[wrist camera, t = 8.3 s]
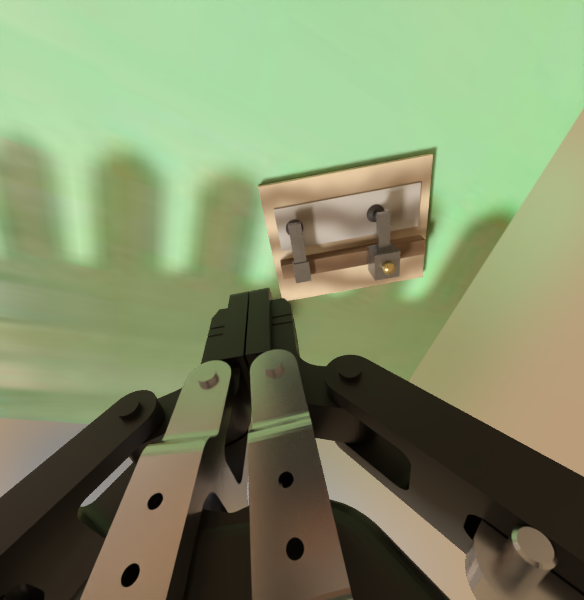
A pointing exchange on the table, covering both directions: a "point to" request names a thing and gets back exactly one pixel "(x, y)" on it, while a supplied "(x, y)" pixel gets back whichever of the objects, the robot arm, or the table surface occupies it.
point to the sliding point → (383, 250)
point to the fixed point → (299, 253)
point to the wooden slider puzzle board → (348, 223)
